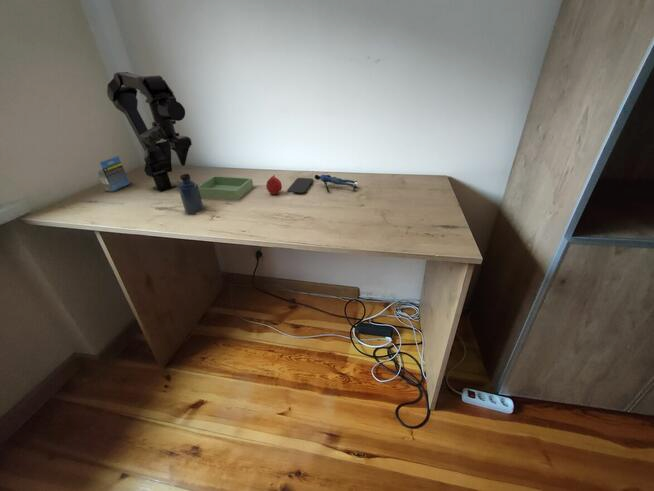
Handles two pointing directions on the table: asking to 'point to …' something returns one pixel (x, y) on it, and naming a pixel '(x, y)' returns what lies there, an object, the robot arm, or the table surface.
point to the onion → (274, 185)
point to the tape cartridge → (113, 175)
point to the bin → (225, 187)
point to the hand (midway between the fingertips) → (176, 163)
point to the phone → (300, 185)
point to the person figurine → (336, 181)
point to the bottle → (190, 195)
